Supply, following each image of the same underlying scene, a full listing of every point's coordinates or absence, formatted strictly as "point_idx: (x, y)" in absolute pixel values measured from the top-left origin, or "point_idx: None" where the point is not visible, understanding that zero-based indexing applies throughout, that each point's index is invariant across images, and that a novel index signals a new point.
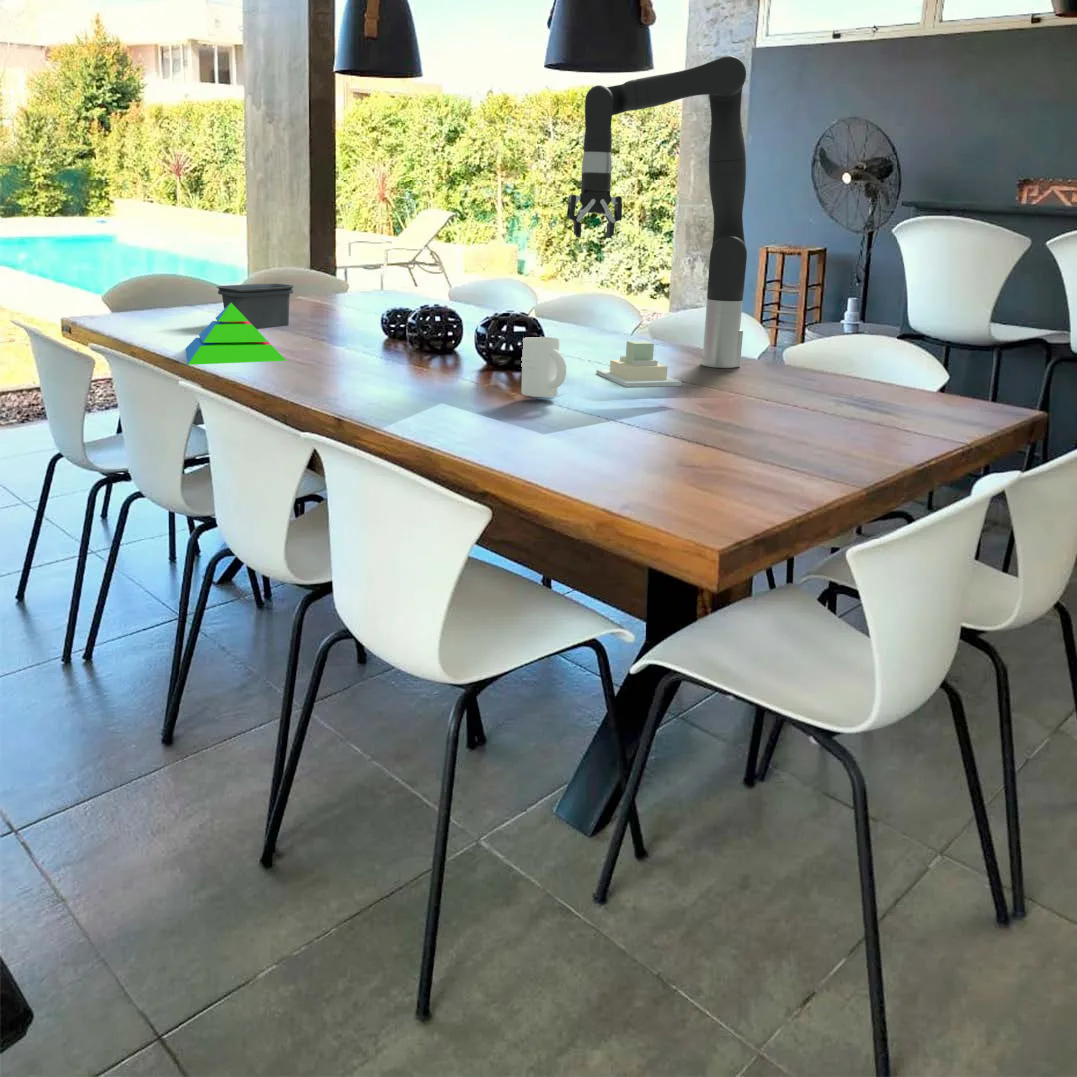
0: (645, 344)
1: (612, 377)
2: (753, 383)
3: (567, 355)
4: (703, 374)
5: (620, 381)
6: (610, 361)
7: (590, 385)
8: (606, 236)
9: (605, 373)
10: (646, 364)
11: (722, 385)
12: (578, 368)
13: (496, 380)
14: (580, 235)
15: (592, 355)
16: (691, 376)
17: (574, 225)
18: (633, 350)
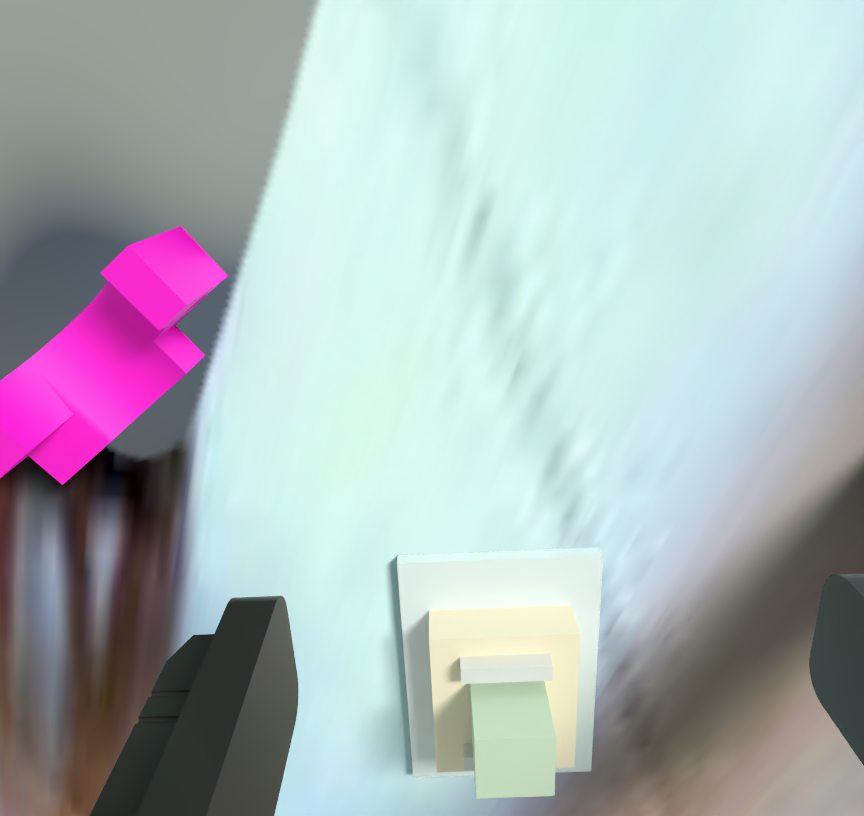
0: (520, 794)
1: (406, 688)
2: (842, 737)
3: (424, 12)
4: (789, 584)
5: (410, 740)
6: (429, 637)
7: (315, 737)
8: (842, 578)
9: (403, 635)
10: None
11: (721, 758)
12: (365, 434)
13: (28, 650)
14: (287, 724)
15: (564, 18)
16: (719, 618)
17: (115, 805)
18: (474, 771)
